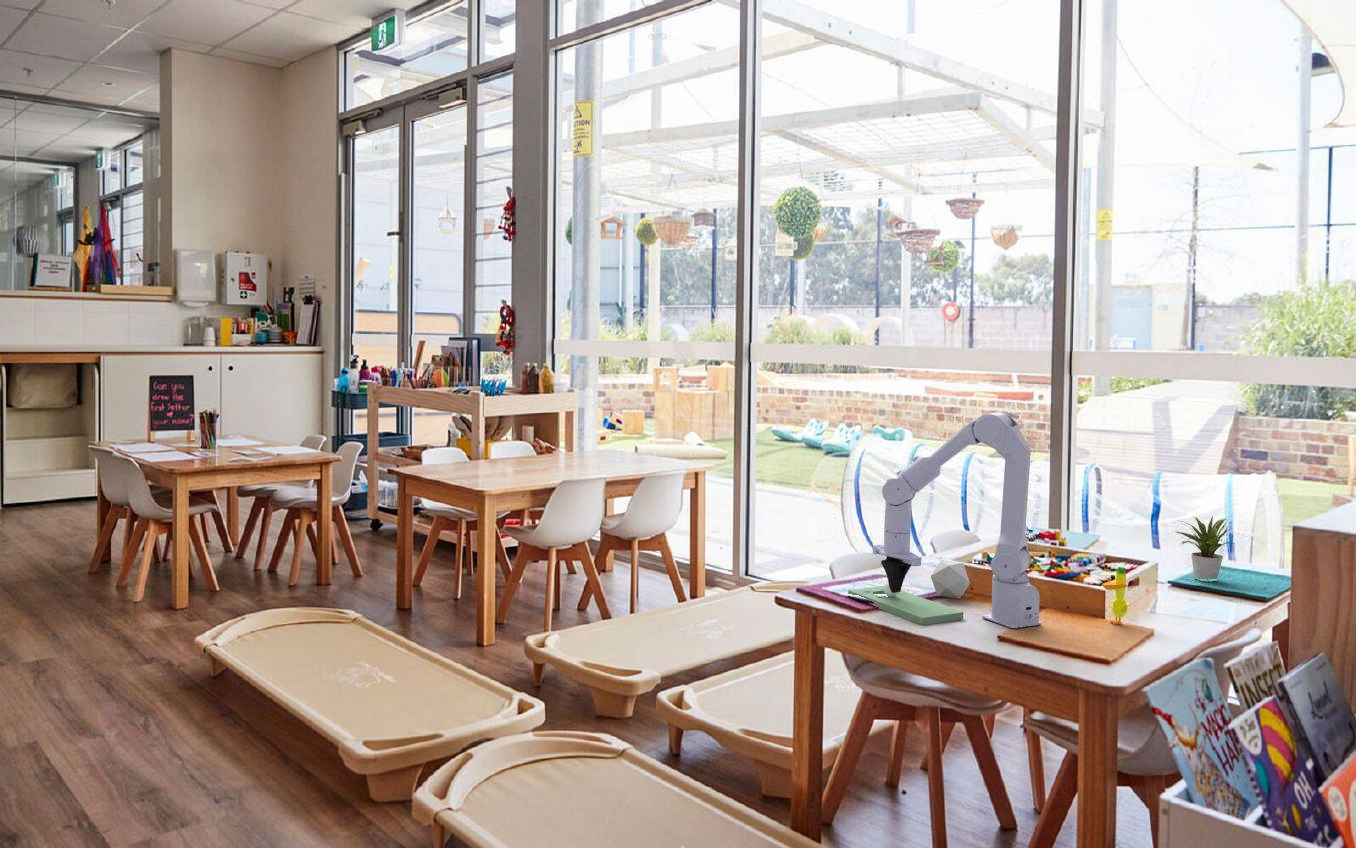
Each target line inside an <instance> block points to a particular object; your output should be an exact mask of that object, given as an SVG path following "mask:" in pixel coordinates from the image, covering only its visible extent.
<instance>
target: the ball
mask: <svg viewBox="0 0 1356 848" xmlns="http://www.w3.org/2000/svg"><path fill="white" fill-rule="evenodd" d="M883 586H884V592H885V594H886V595H887V596H889V597H895V596H897V595H898V593H899V592H897V593H892V592H891V590H890V587H889V583H888V581H887V582H885V584H884V585H883Z"/></svg>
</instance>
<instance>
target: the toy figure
mask: <svg viewBox="0 0 1356 848" xmlns="http://www.w3.org/2000/svg"><path fill="white" fill-rule="evenodd" d="M1126 570H1127V569H1126V567H1122V566H1117V570H1116V571H1115V574H1114V575H1115V576H1114V581H1107V582H1104V583H1102V584H1101V585H1102V588H1104V589H1105V590H1106V591H1107V590H1108V591H1111V590H1112V591H1113V590H1114V595H1115V599H1113V600H1112V602H1111V606H1110V608H1111V609H1110V610H1111V613H1112V614H1113V616H1114V617H1115V619H1111V620H1109V623H1110V624H1111V623H1114V624H1121V623H1122V621H1121V618H1123V617H1125V615H1126V614H1127V612H1128V607H1129V605H1130V602H1126V601H1125V598H1124V597H1125V593H1126V588H1127V587H1129V585H1128V584H1127V572H1126ZM1122 624H1123V623H1122ZM1122 624H1121V625H1122Z"/></svg>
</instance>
